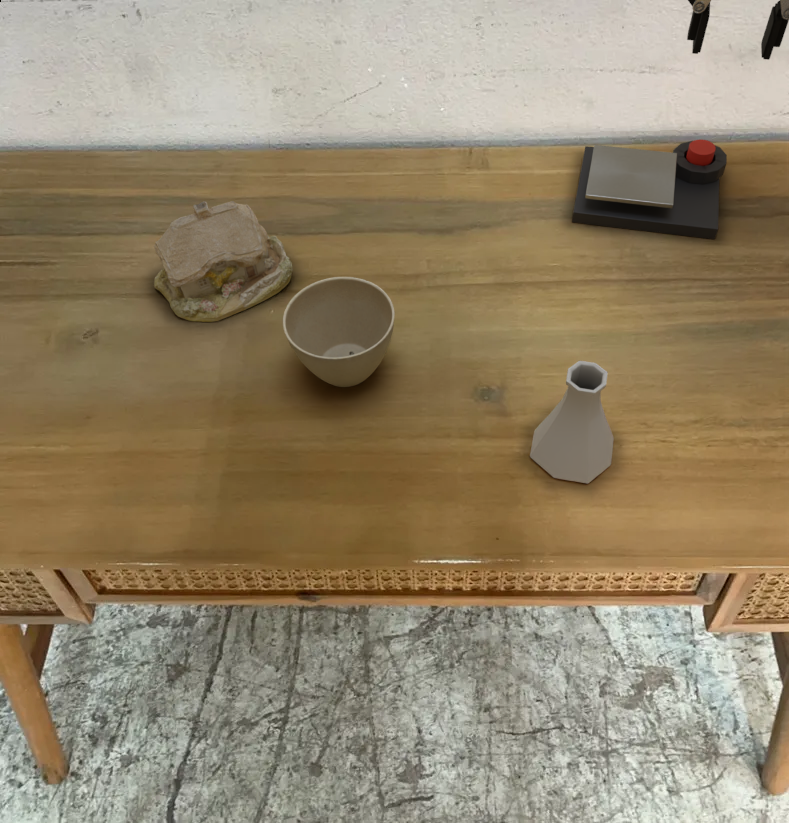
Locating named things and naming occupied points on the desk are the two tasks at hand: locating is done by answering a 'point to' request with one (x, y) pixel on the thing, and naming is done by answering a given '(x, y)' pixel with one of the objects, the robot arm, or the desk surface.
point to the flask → (576, 429)
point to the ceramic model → (219, 263)
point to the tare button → (700, 152)
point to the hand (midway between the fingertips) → (730, 47)
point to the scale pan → (632, 176)
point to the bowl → (340, 328)
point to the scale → (686, 218)
